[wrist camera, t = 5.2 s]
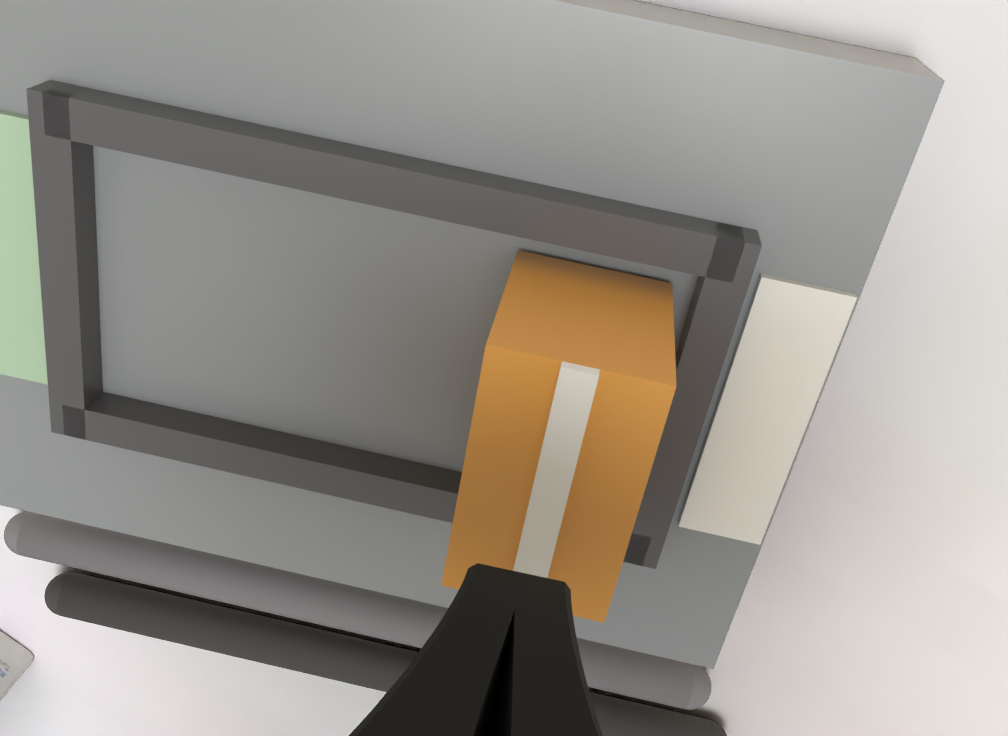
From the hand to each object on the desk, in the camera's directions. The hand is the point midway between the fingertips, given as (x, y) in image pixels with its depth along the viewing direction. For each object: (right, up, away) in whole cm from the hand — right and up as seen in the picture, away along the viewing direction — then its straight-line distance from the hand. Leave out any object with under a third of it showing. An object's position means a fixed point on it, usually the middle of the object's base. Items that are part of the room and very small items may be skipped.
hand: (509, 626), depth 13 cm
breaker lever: (+1, +3, +6) cm, 7 cm away
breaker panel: (-2, +5, +8) cm, 10 cm away
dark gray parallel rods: (-4, -3, +13) cm, 14 cm away
